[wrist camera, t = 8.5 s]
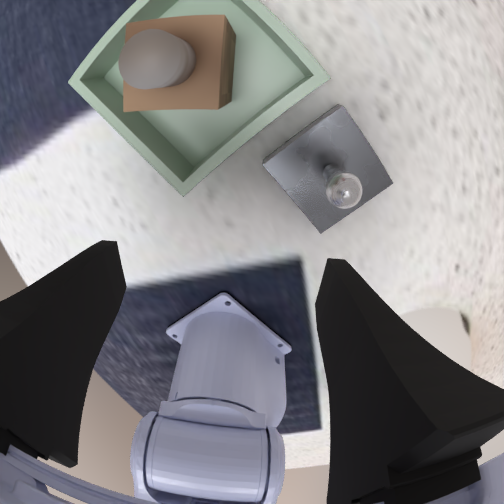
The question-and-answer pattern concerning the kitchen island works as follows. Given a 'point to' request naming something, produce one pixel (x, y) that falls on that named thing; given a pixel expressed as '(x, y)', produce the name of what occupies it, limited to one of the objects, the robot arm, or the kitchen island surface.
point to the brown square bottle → (178, 63)
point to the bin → (203, 120)
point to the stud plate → (328, 169)
